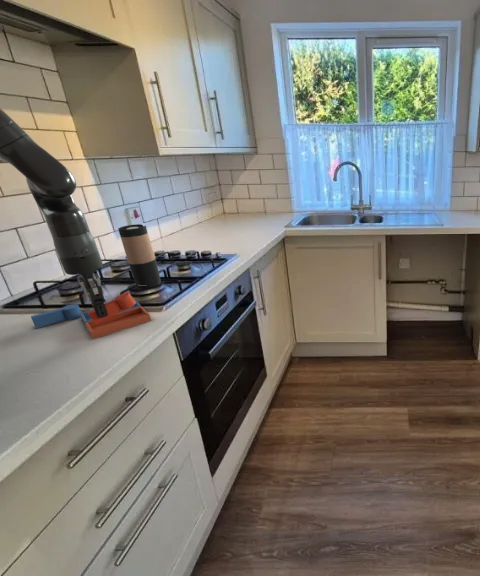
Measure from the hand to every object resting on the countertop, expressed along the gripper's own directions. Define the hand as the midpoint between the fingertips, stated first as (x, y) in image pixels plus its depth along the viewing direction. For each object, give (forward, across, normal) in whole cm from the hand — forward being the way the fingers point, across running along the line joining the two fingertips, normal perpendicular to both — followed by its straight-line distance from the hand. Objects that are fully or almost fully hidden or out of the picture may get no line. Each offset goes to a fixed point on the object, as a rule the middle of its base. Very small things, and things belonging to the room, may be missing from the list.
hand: (102, 315), depth 93 cm
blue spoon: (+4, -16, -8) cm, 18 cm away
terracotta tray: (+4, 0, +3) cm, 5 cm away
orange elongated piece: (0, 0, +3) cm, 3 cm away
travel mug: (+4, -26, +17) cm, 32 cm away
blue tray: (+4, -8, +3) cm, 9 cm away
